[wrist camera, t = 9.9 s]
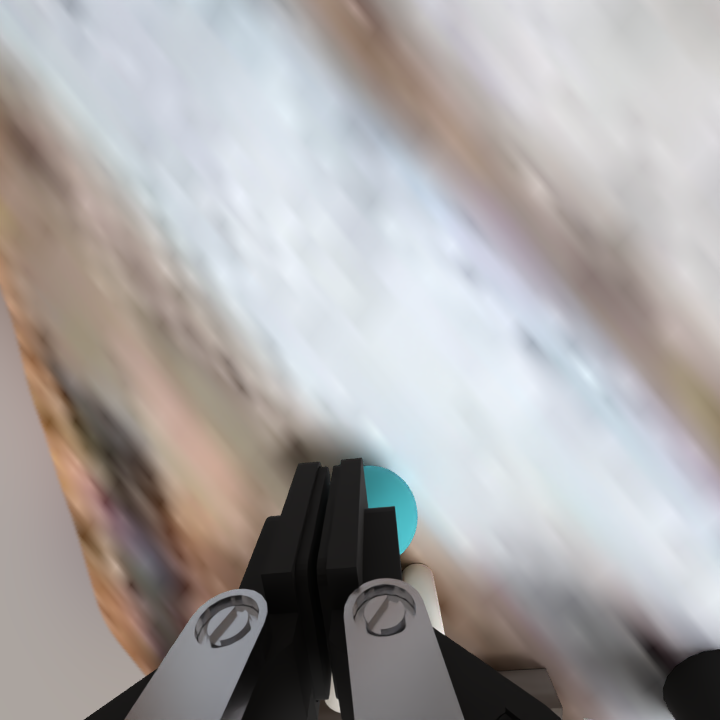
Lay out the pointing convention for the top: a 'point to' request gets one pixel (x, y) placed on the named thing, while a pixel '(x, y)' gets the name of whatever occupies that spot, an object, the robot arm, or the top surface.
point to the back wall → (528, 680)
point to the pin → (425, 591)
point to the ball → (392, 500)
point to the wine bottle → (695, 688)
